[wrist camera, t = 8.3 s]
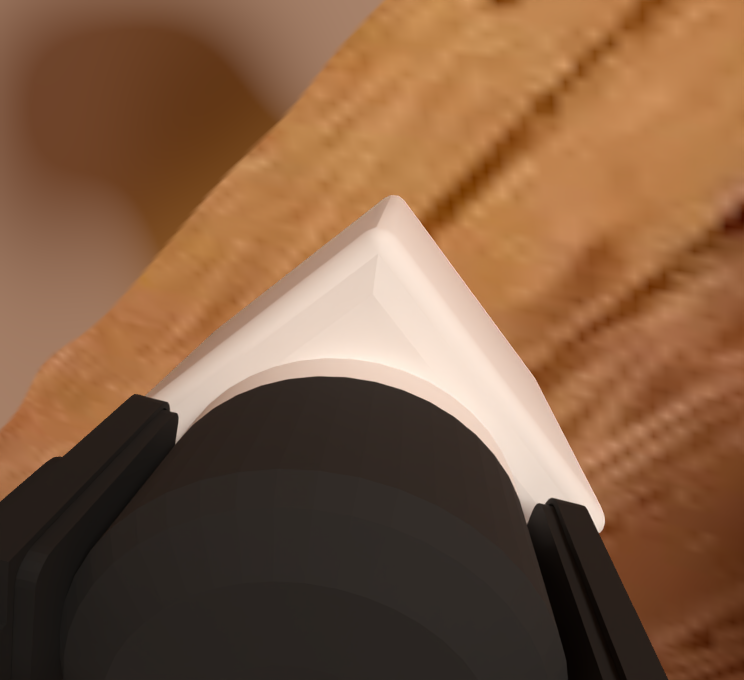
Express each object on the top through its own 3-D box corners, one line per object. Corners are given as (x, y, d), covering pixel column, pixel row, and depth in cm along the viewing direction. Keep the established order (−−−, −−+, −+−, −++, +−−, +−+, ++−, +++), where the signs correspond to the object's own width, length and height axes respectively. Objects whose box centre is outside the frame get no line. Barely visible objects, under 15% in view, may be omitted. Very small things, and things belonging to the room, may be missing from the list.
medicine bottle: (209, 334, 18) (-165, 679, 6) (396, 187, 16) (348, 298, 4) (353, 499, 19) (264, 1017, 8) (539, 382, 17) (775, 834, 6)
